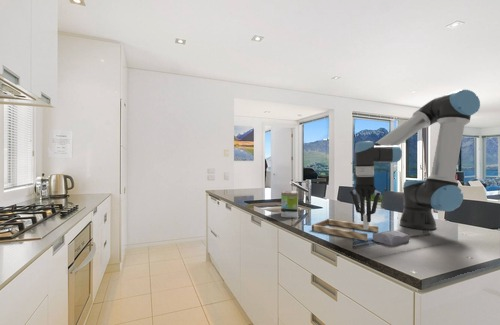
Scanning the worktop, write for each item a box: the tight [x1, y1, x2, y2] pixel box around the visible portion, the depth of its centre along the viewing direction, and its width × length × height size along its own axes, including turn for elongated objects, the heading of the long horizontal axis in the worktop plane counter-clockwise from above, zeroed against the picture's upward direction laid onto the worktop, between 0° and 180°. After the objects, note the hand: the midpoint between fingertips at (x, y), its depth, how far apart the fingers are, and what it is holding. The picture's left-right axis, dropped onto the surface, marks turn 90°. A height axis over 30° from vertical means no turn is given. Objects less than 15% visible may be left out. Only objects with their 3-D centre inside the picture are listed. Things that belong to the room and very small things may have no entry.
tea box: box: [280, 190, 299, 219], centre depth 155 cm, size 15×10×15 cm
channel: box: [311, 218, 379, 241], centre depth 117 cm, size 24×18×2 cm
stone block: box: [372, 230, 410, 247], centre depth 102 cm, size 12×5×10 cm
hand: (366, 228), depth 111 cm, fingers closed
